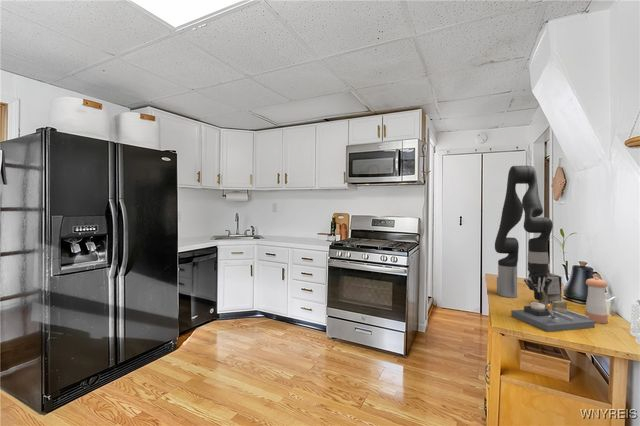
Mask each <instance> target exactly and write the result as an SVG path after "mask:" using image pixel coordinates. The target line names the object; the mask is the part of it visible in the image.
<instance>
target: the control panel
mask: <svg viewBox="0 0 640 426" xmlns="http://www.w3.org/2000/svg"><path fill="white" fill-rule="evenodd" d="M551 309H552V308H551ZM553 314H554V316H555V318H554V319H552V318H551V315H550V313H549V310H548V309H547V308H546V307H545V311H536V310H533V309H531V305H524V306H523V309H514V310H511V317H513V318H515V319H517V320H520V321H522V322H525V323H527V324H528V325H529V324H530V325H531V326H533V327H535V328H537V329H541V330H543V331H545V332H548V333H550V332H560V331H570V330H579V329H580V330H581V329H591V328H592V329H593V328H595V325H596V324H595V321H592V320H589V317H588V316H585V314H582V313H578V312H575V311H572V310H569V309H567V313H558V312H555V311H553Z"/></svg>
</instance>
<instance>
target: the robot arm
mask: <svg viewBox="0 0 640 426" xmlns="http://www.w3.org/2000/svg"><path fill="white" fill-rule="evenodd" d="M517 184H519V185H522V184H523V185H525V184H526V185H528V188H527V190H526V192H525V193H524V195H523V197H522V198H521V199H522V200H521V199H520V198H519V196H518V193H517V191H516V188H517V187H516V186H517ZM538 185H539V184H538V175H537V171H536V168H535V166H533V165H512V166H510V168H509V170H508V175H507V183H506V190H505V191H506V193H505V198H504V202H503V206H502V209H501V210H502V211H501V217H500V224H499V228H498V230H497V234H496V237H495V240H494V250H495V252H496V253H497V254H501V255H502V254H507V256H505V257H502V258H499V259H498V261H497V277H496V294H497V295H499V296H500V297H504V298H518V262H519V248H520V247H519V241H518V239H517V238H516V237H507V236H508V234H509V233H510V231H511V230H512V229H513V228H514V227H516V226H517V224H519V222H520V221H521V219H522V216H523V212H524V220H523V230H524V231H525V232H527V233H530V234H540V235H539V236H537V237H532V238H529V239H528V240H527V241H528V251H527V271H528V272H529V274H528V278H524V279H523V282H524V283H525V285H526V286H527V287H528V289H529V290H530V291H533V298H534V300H536V301H538V300H542V292H543V291H544V290H547V288H548V286H549V285H550V283H551V282H552V279H549V278H548V277H547V273H550V271H549V253H548V252H549V250H548V248H549V247H548V245H549V239H550V237H551V233H552V230H553V227H554V224H553V221H552V219H550V218H549V217H543V216H542V215H543V213H544V209H543V206H542V203H541V200H540V199H541V198H540V195H539V186H538ZM540 216H542V217H540ZM544 286H545V287H544Z"/></svg>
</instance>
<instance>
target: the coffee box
mask: <svg viewBox="0 0 640 426" xmlns="http://www.w3.org/2000/svg"><path fill="white" fill-rule="evenodd" d="M547 277H548V278H549V279H552V282H551V283H550V285H549V286H548V288H547V290H544V291H543V292H542V300H537V303H542V304H544V305H545V308H546V305H547V304H550V305H551V306H552V302H554V301H562V276H560V275H558V274H555V273H552V272H551V273H550V272H548V273H547ZM544 287H545V286H544Z"/></svg>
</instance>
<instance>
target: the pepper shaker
mask: <svg viewBox="0 0 640 426" xmlns="http://www.w3.org/2000/svg"><path fill="white" fill-rule="evenodd" d="M585 284H586V286H587V297H586V301H585V305H586V306H585V311H584V315H585V316H588V317H589V320H592V321H595V322H596V324H597V323H598V324H607V322H608V321H609V319H608V318H609V315H608V313H607V310H608V308H607V300H606V288H607V287H608V283H607V281H605V280H604V279H600V278H599V277H598V276H596V277H595V276H594V277H593V278H587V279H586V281H585ZM608 323H609V322H608Z"/></svg>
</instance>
